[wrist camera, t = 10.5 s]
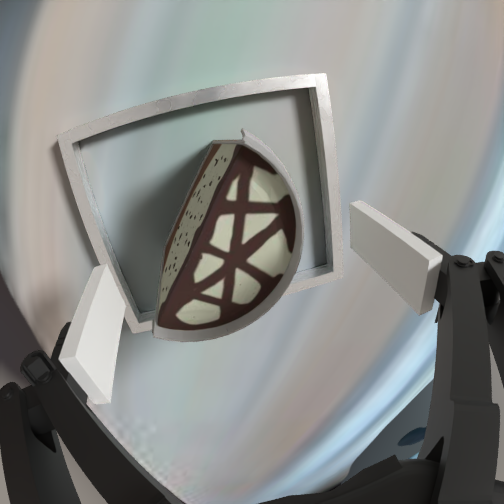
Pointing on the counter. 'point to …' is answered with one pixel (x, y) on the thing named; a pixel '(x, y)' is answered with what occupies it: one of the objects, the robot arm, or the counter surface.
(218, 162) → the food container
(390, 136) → the counter surface
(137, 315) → the grey square frame
